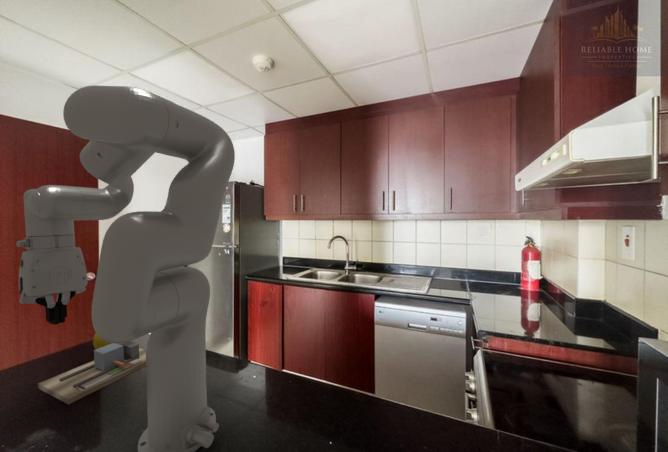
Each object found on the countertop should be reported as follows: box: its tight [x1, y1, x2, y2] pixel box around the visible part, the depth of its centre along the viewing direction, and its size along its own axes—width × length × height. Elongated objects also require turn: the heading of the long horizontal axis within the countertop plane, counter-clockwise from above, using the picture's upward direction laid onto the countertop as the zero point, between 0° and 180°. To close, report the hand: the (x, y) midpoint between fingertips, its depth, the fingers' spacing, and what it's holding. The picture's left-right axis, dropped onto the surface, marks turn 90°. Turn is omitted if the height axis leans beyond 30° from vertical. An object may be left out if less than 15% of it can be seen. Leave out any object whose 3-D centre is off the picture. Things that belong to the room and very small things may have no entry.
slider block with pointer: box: [93, 343, 125, 371], centre depth 69 cm, size 8×4×4 cm, turn 67°
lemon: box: [92, 332, 112, 350], centre depth 79 cm, size 6×6×8 cm
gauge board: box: [37, 341, 146, 405], centre depth 69 cm, size 14×20×5 cm
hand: (57, 322), depth 60 cm, fingers closed
